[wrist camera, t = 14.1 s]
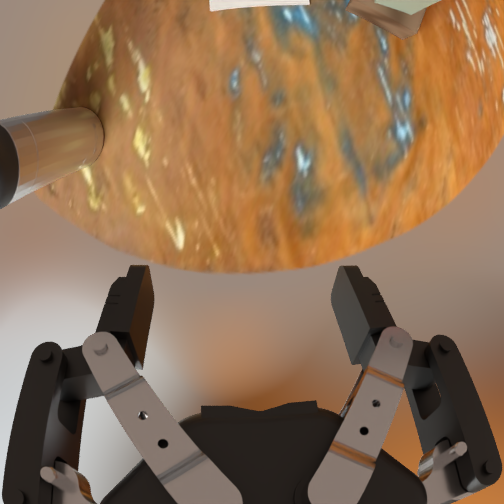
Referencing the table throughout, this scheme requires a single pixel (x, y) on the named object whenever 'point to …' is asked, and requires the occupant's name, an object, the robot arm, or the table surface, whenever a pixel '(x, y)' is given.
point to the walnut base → (387, 17)
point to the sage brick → (407, 5)
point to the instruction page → (251, 3)
